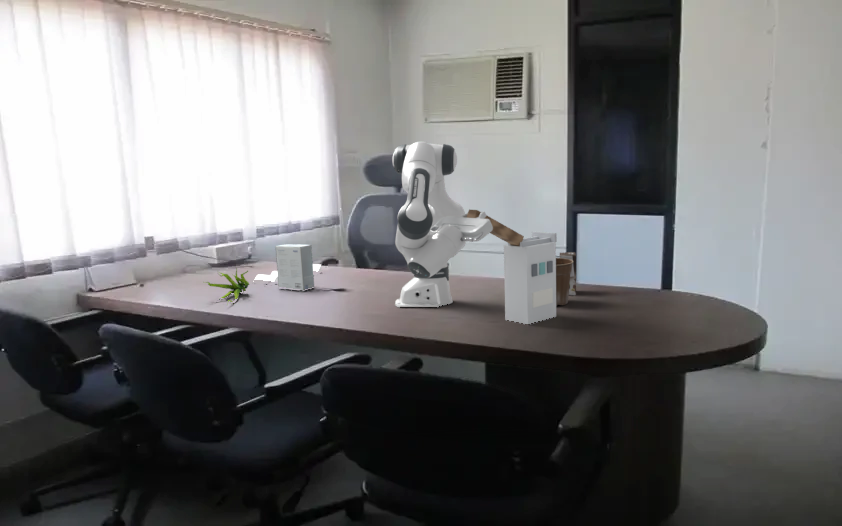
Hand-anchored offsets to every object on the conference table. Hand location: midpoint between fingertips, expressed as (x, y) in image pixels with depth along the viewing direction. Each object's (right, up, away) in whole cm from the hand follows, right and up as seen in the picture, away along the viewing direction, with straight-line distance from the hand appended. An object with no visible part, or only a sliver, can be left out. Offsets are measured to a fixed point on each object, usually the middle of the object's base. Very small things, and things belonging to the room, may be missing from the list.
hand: (478, 213), depth 208 cm
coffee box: (+41, -28, +60) cm, 78 cm away
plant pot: (+31, -31, +43) cm, 62 cm away
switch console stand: (+20, -35, +21) cm, 45 cm away
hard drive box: (-74, -28, +92) cm, 121 cm away
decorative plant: (-96, -32, +72) cm, 124 cm away
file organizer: (-83, -24, +120) cm, 149 cm away
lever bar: (+6, -6, +6) cm, 10 cm away
